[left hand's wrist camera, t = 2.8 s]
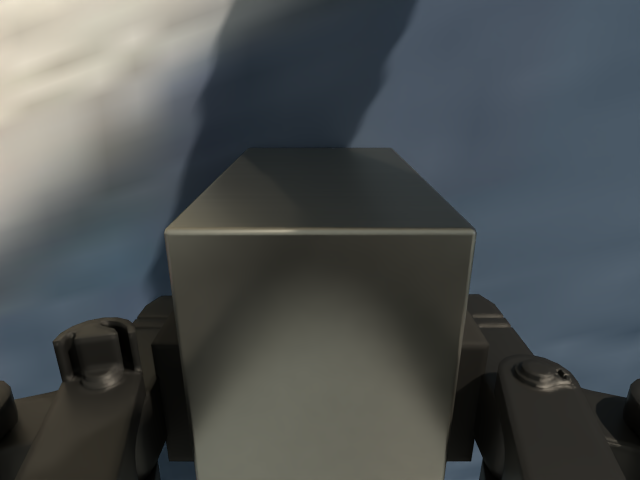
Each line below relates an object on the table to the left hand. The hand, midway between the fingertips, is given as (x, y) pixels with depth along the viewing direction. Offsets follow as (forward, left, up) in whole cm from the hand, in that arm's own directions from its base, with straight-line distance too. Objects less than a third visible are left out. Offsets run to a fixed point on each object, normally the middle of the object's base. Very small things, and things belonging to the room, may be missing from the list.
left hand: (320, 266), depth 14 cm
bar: (+2, +8, -1) cm, 8 cm away
